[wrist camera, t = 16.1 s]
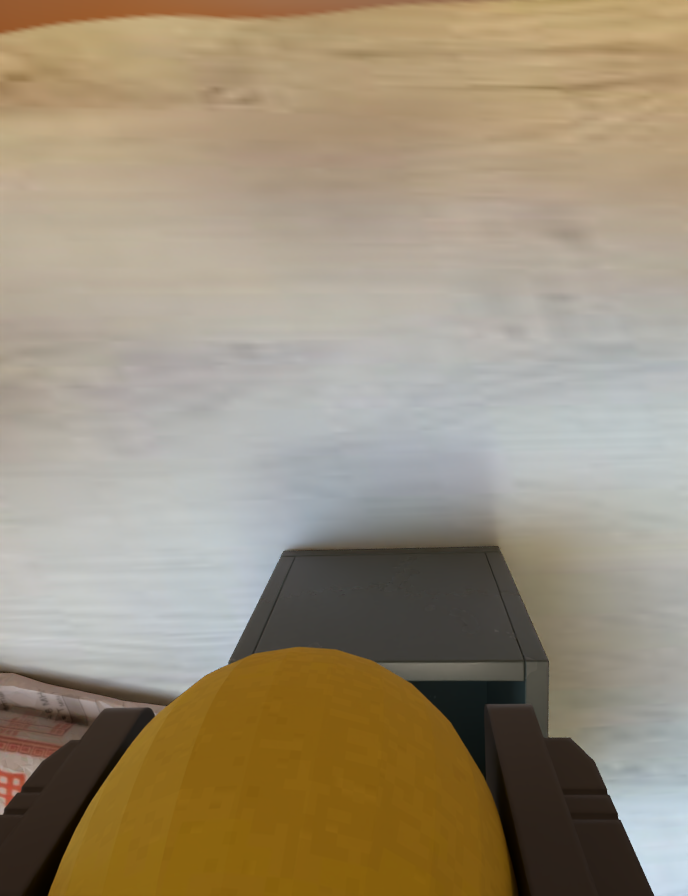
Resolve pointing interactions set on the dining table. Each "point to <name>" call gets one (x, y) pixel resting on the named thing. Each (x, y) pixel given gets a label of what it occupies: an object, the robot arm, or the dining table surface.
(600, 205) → the dining table surface
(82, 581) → the dining table surface
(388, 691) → the lemon
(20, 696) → the grey-brown angular block
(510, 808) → the robot arm
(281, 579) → the drawer box
